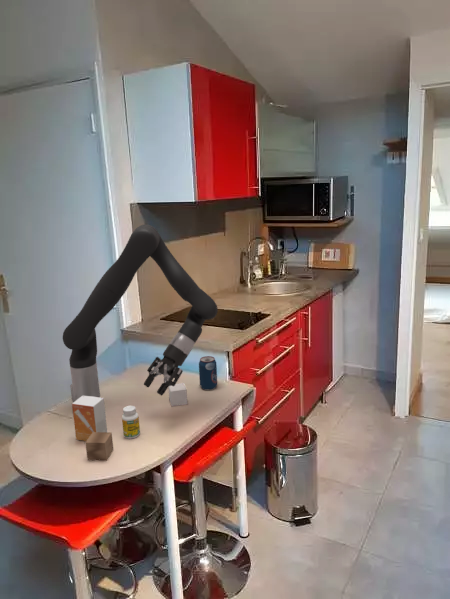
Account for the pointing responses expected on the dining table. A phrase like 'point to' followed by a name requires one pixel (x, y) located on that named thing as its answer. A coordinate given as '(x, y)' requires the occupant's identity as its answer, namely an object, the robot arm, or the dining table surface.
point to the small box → (89, 416)
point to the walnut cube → (99, 446)
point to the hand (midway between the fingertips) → (152, 390)
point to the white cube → (178, 394)
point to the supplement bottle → (130, 422)
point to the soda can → (208, 373)
